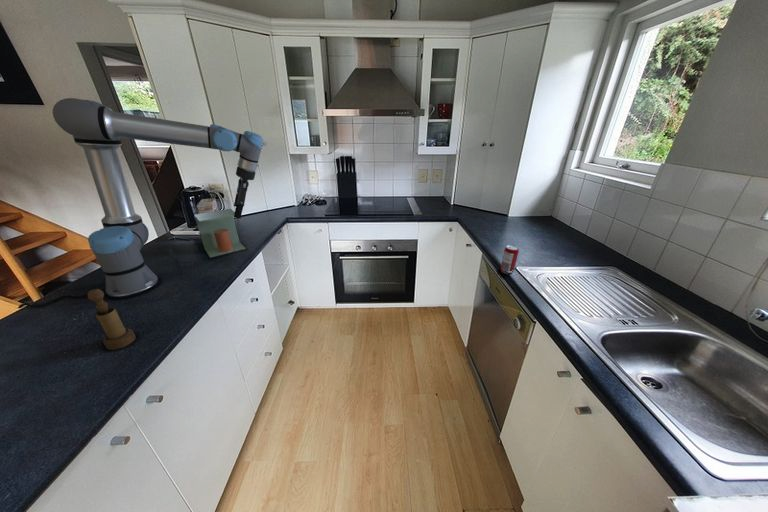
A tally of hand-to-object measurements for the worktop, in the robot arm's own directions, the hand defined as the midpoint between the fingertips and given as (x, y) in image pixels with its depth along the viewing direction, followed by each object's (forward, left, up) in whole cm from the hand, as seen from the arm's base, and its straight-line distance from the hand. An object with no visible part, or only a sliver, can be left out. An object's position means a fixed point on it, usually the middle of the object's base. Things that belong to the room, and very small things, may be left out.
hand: (236, 212), depth 128 cm
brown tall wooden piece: (-48, -43, -20) cm, 67 cm away
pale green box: (-8, +7, -20) cm, 23 cm away
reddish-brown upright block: (-8, +6, -19) cm, 22 cm away
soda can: (+81, -96, -20) cm, 127 cm away
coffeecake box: (-7, +33, -20) cm, 40 cm away
